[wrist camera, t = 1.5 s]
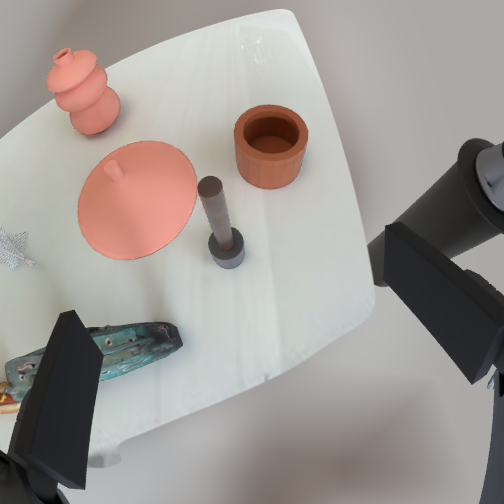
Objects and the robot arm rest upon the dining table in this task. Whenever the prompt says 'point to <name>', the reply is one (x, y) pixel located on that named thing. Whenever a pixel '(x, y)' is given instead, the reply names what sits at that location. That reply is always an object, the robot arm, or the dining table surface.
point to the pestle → (220, 225)
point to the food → (7, 401)
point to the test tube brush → (12, 250)
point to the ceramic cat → (111, 345)
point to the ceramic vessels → (122, 169)
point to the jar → (270, 145)
